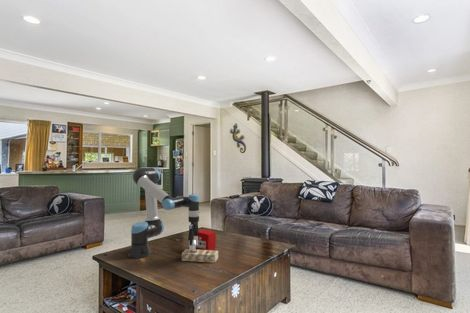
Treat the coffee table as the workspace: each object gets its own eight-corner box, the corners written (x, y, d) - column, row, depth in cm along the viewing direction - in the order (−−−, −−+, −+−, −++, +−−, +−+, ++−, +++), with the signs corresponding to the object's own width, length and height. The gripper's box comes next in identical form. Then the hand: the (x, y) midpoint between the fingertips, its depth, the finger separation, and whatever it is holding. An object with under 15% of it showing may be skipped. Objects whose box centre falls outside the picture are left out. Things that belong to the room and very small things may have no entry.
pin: (190, 257, 197) (189, 240, 197) (191, 256, 200) (191, 239, 201) (195, 257, 196) (194, 240, 197) (196, 256, 200) (196, 239, 200)
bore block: (181, 260, 194) (181, 253, 194) (186, 255, 204) (186, 248, 204) (215, 262, 191) (215, 255, 191) (218, 257, 200) (218, 250, 201)
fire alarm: (190, 250, 216) (190, 231, 216) (198, 247, 225) (198, 228, 225) (208, 254, 208) (208, 234, 208) (215, 250, 218) (215, 231, 218)
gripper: (194, 219, 187) (193, 252, 187) (203, 213, 209) (202, 242, 209) (183, 219, 188) (183, 251, 188) (193, 213, 210) (193, 242, 210)
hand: (193, 247), depth 198 cm, fingers open, 10 cm apart
